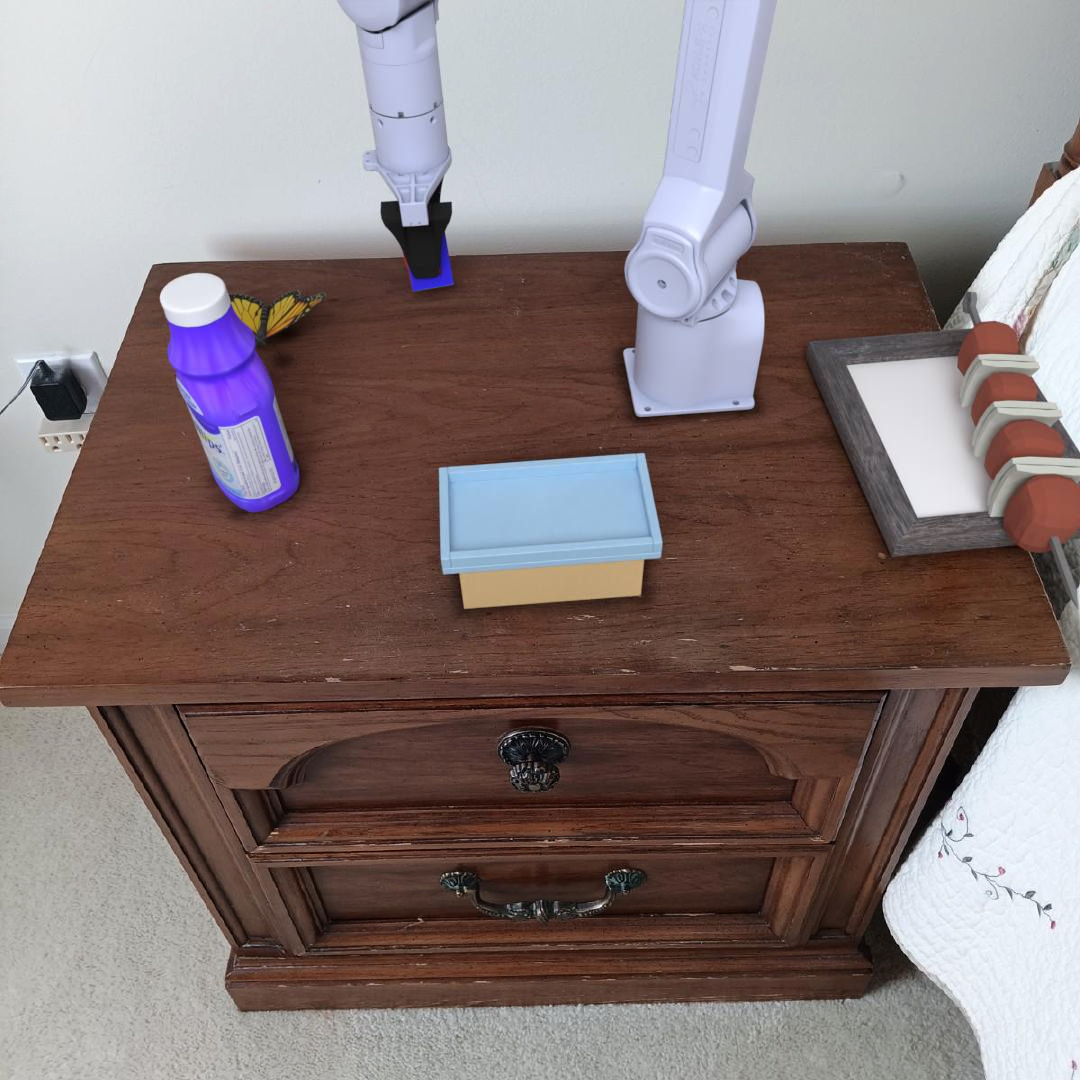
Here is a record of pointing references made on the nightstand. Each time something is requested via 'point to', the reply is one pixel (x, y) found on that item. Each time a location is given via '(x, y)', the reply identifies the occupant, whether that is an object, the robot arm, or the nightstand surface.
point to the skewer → (1019, 442)
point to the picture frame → (913, 438)
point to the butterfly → (272, 313)
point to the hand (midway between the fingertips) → (426, 253)
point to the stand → (548, 529)
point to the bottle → (228, 394)
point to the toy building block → (443, 277)
